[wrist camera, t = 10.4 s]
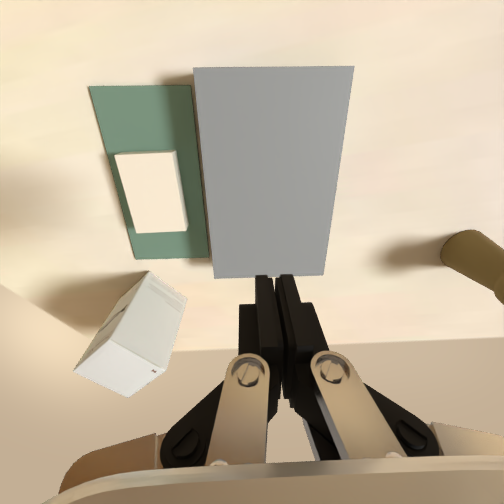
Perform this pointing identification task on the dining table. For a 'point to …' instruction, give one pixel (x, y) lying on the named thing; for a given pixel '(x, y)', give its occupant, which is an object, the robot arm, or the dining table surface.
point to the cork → (476, 259)
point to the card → (153, 190)
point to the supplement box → (135, 338)
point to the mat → (155, 139)
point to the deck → (271, 164)
